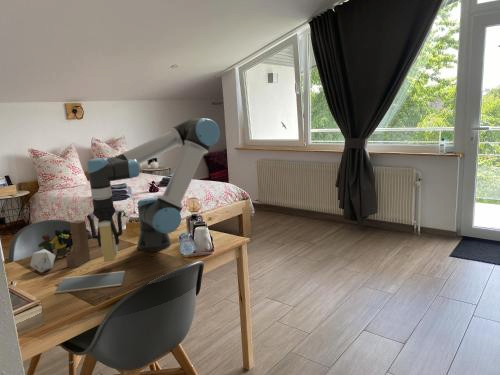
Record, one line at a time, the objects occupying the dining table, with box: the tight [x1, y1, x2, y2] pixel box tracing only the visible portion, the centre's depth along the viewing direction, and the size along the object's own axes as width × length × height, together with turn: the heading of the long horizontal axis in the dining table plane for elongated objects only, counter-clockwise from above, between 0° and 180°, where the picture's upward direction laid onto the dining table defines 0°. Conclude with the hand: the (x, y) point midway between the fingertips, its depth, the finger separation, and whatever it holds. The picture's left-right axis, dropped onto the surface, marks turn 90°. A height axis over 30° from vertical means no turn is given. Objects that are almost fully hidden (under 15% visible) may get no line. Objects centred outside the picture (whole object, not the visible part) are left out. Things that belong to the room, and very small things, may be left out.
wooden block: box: [65, 219, 91, 268], centre depth 167 cm, size 9×4×18 cm, turn 160°
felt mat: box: [53, 270, 126, 295], centre depth 149 cm, size 23×13×1 cm, turn 101°
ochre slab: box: [99, 220, 118, 263], centre depth 160 cm, size 4×8×16 cm, turn 11°
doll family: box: [37, 228, 91, 259], centre depth 180 cm, size 23×9×13 cm, turn 157°
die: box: [29, 248, 57, 274], centre depth 162 cm, size 8×9×10 cm
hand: (110, 252), depth 161 cm, fingers closed on ochre slab, 4 cm apart
